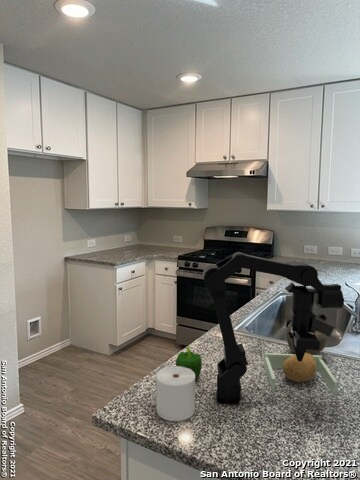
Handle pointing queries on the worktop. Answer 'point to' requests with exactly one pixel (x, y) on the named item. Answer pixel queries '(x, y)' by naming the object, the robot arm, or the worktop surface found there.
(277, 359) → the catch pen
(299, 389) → the worktop surface
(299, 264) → the robot arm
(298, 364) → the potato
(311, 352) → the cantaloupe
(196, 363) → the bell pepper
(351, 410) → the worktop surface
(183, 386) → the toilet tissue
